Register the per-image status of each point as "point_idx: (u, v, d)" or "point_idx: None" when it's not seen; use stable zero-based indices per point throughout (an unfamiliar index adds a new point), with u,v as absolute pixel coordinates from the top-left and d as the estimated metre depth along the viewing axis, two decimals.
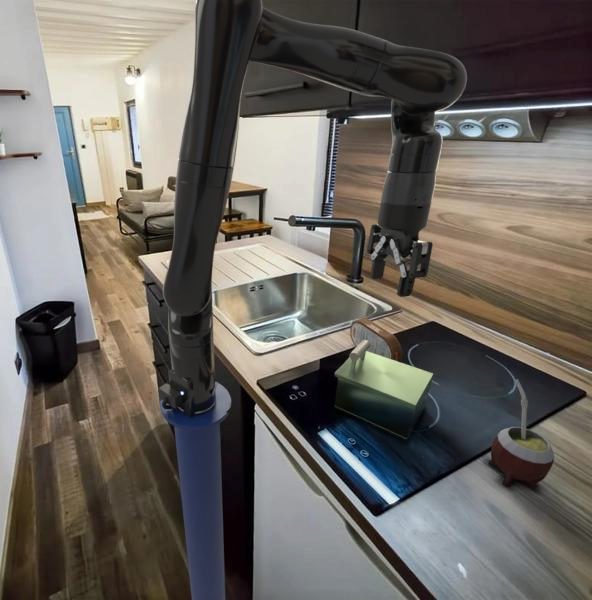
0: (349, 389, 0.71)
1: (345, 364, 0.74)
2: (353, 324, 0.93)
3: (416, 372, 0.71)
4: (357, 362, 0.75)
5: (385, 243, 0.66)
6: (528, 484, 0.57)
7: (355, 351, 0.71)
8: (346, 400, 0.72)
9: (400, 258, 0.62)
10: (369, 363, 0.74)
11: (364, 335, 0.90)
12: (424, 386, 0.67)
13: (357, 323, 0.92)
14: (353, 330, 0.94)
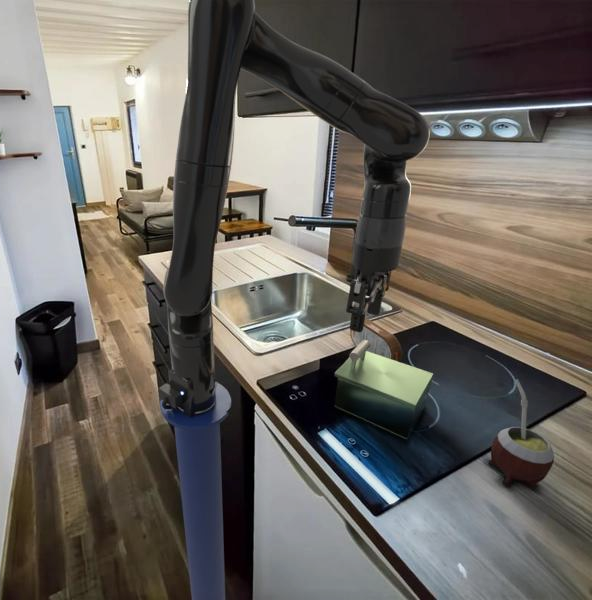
0: (349, 389, 0.71)
1: (345, 364, 0.74)
2: None
3: (416, 372, 0.71)
4: (357, 362, 0.75)
5: None
6: (528, 484, 0.57)
7: (355, 351, 0.71)
8: (346, 400, 0.72)
9: None
10: (369, 363, 0.74)
11: (364, 335, 0.90)
12: (424, 386, 0.67)
13: None
14: None
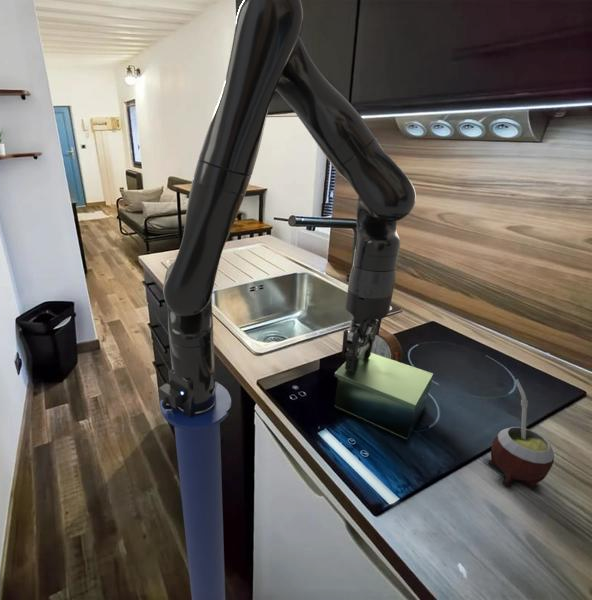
0: (349, 389, 0.71)
1: (345, 364, 0.74)
2: None
3: (416, 372, 0.71)
4: None
5: None
6: (528, 484, 0.57)
7: None
8: (346, 400, 0.72)
9: None
10: (369, 363, 0.74)
11: None
12: (424, 386, 0.67)
13: None
14: None
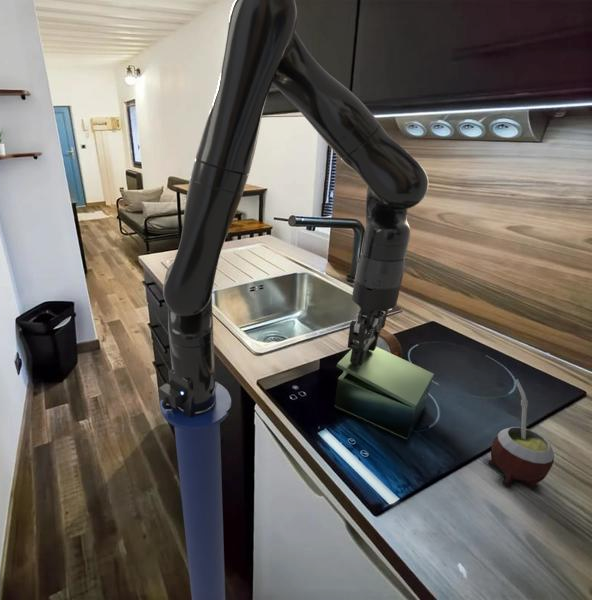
0: (349, 389, 0.71)
1: (348, 355, 0.73)
2: None
3: (417, 370, 0.70)
4: None
5: None
6: (528, 484, 0.57)
7: None
8: (346, 400, 0.72)
9: None
10: (371, 356, 0.73)
11: None
12: (424, 386, 0.67)
13: None
14: None
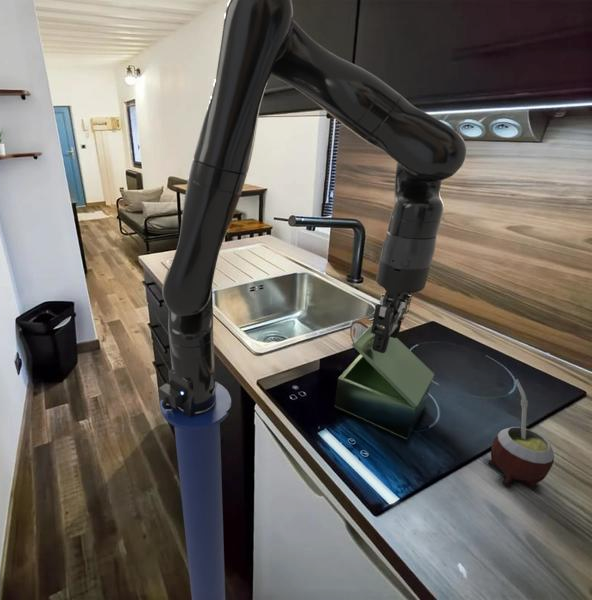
0: (349, 389, 0.71)
1: (364, 335, 0.69)
2: (353, 324, 0.93)
3: (421, 367, 0.70)
4: None
5: None
6: (528, 484, 0.57)
7: None
8: (346, 400, 0.72)
9: None
10: None
11: None
12: (426, 386, 0.67)
13: (357, 323, 0.92)
14: (353, 330, 0.94)
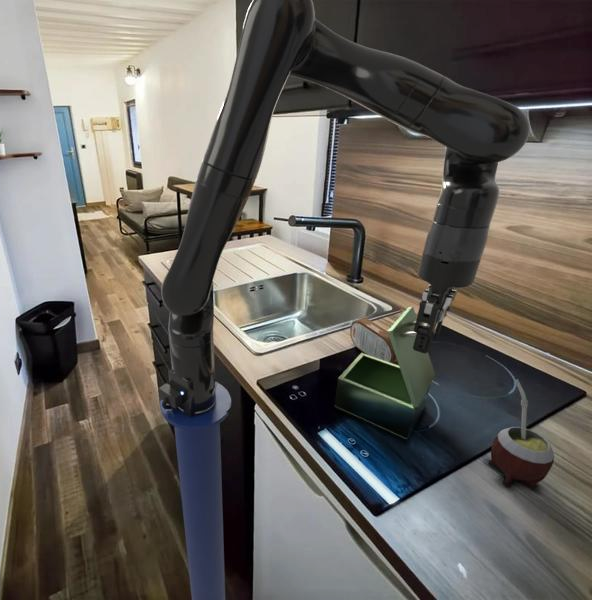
0: (349, 389, 0.71)
1: (400, 323, 0.64)
2: (353, 324, 0.93)
3: (429, 367, 0.69)
4: (407, 327, 0.65)
5: None
6: (528, 484, 0.57)
7: None
8: (346, 400, 0.72)
9: None
10: None
11: (364, 335, 0.90)
12: (427, 387, 0.67)
13: (357, 323, 0.92)
14: (353, 330, 0.94)
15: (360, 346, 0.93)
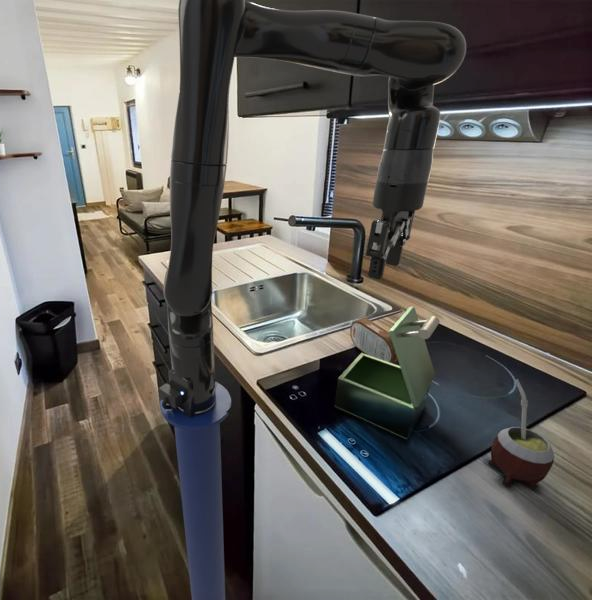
0: (349, 389, 0.71)
1: (402, 323, 0.63)
2: (353, 324, 0.93)
3: (429, 367, 0.69)
4: (408, 327, 0.65)
5: None
6: (528, 484, 0.57)
7: (430, 332, 0.60)
8: (346, 400, 0.72)
9: None
10: None
11: (364, 335, 0.90)
12: (427, 387, 0.67)
13: (357, 323, 0.92)
14: (353, 330, 0.94)
15: (360, 346, 0.93)
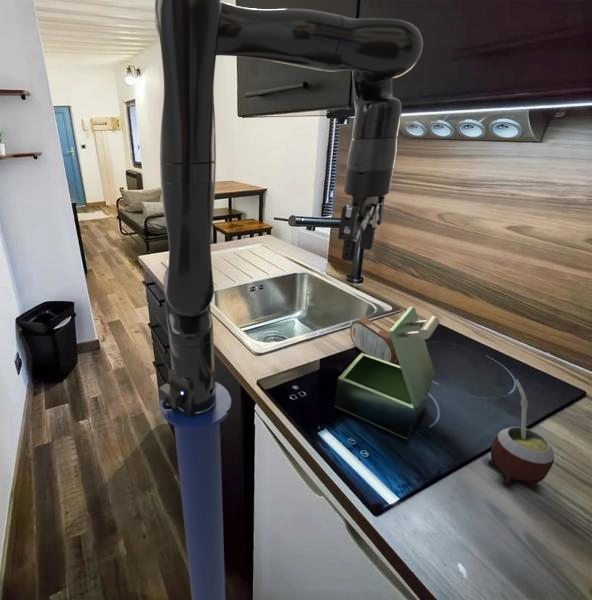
0: (349, 389, 0.71)
1: (402, 323, 0.63)
2: (353, 324, 0.93)
3: (429, 367, 0.69)
4: (408, 327, 0.65)
5: None
6: (528, 484, 0.57)
7: (430, 332, 0.60)
8: (346, 400, 0.72)
9: None
10: None
11: (364, 335, 0.90)
12: (427, 387, 0.67)
13: (357, 323, 0.92)
14: (353, 330, 0.94)
15: (360, 346, 0.93)
